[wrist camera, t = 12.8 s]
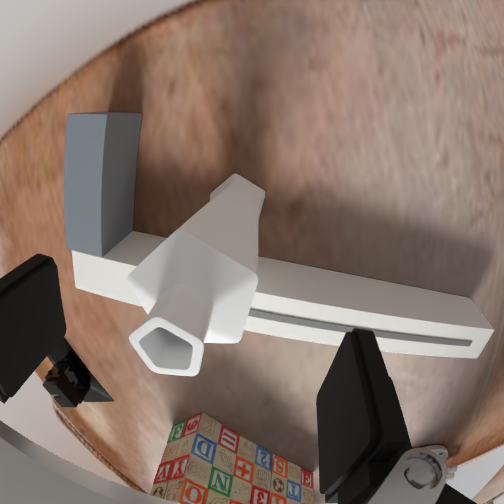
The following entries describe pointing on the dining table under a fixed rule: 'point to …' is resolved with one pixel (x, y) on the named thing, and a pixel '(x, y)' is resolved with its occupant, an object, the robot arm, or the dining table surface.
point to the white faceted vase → (200, 281)
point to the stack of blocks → (225, 469)
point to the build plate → (72, 378)
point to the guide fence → (269, 270)
